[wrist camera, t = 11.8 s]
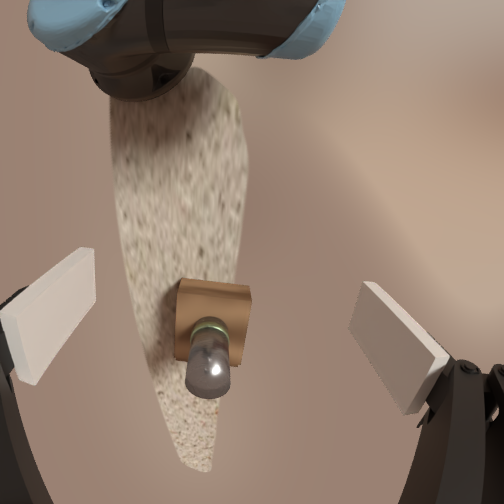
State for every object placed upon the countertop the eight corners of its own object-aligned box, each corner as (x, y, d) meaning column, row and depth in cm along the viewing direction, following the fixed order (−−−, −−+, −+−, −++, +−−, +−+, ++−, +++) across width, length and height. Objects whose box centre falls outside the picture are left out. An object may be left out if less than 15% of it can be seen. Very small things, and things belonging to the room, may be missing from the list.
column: (193, 313, 40) (185, 363, 30) (231, 317, 41) (234, 368, 31) (190, 344, 42) (183, 396, 31) (226, 348, 43) (228, 401, 32)
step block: (181, 277, 44) (177, 292, 39) (249, 285, 45) (251, 301, 40) (177, 351, 48) (174, 369, 43) (237, 357, 49) (238, 376, 44)
